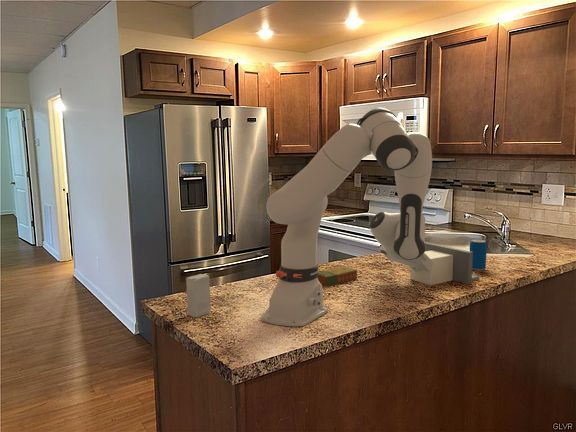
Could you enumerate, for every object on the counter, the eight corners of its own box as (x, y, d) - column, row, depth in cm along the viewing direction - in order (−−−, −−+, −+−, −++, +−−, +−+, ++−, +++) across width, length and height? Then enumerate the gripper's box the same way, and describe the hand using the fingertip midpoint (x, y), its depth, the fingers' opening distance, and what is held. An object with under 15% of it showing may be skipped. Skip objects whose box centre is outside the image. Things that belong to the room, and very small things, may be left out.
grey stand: (467, 284, 171) (469, 252, 169) (418, 270, 192) (419, 241, 190) (483, 280, 176) (485, 249, 174) (433, 267, 196) (434, 239, 194)
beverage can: (485, 267, 194) (487, 239, 193) (485, 271, 188) (486, 242, 187) (469, 266, 197) (470, 238, 195) (468, 270, 191) (469, 241, 189)
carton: (357, 279, 180) (357, 269, 180) (326, 287, 171) (326, 276, 170) (342, 275, 187) (342, 265, 186) (311, 282, 178) (311, 271, 177)
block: (430, 285, 171) (431, 259, 170) (410, 279, 180) (410, 253, 178) (452, 280, 177) (453, 254, 176) (431, 274, 186) (432, 250, 184)
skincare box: (202, 310, 148) (201, 273, 146) (211, 313, 145) (210, 275, 143) (186, 315, 143) (184, 277, 142) (195, 318, 140) (194, 279, 139)
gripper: (426, 245, 160) (444, 269, 166) (384, 236, 177) (402, 258, 183) (416, 260, 158) (435, 283, 164) (375, 249, 175) (394, 270, 182)
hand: (417, 270), depth 174 cm, fingers closed
